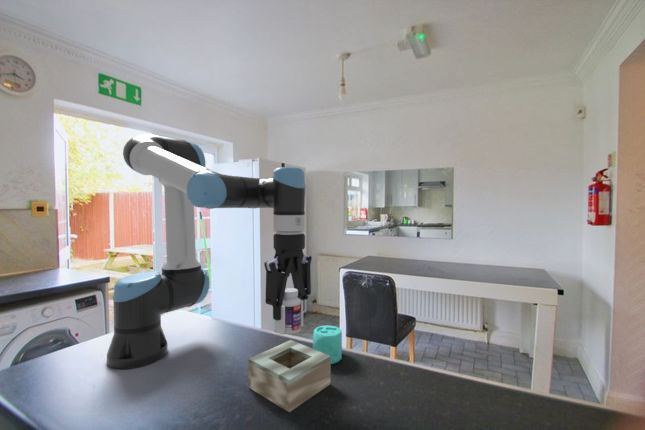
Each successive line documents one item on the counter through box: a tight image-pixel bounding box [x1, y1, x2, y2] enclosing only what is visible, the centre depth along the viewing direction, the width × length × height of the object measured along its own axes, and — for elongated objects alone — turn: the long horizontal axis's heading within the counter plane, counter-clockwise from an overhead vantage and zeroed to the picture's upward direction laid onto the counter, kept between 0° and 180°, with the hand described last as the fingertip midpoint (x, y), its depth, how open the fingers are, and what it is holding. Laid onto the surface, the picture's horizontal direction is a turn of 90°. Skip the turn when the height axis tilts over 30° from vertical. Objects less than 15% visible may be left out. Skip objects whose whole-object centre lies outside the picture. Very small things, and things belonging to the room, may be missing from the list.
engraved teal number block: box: [312, 324, 343, 365], centre depth 90 cm, size 8×8×8 cm
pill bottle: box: [282, 287, 302, 335], centre depth 75 cm, size 5×5×10 cm
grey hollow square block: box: [248, 339, 332, 413], centre depth 76 cm, size 14×14×7 cm
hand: (289, 328), depth 76 cm, fingers closed on pill bottle, 5 cm apart
